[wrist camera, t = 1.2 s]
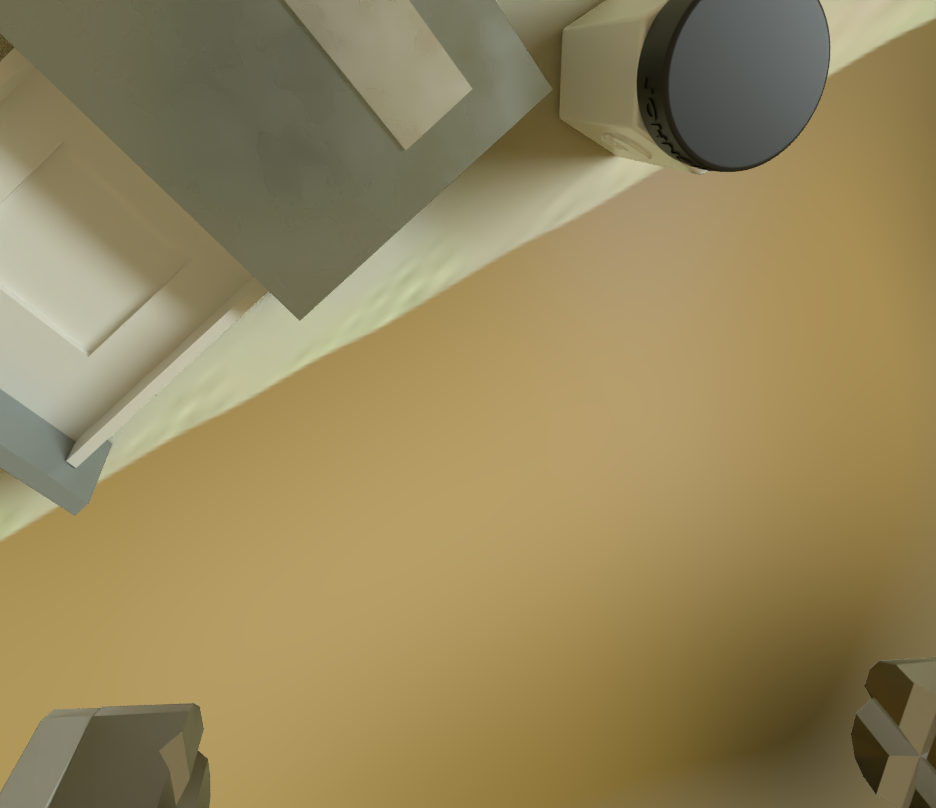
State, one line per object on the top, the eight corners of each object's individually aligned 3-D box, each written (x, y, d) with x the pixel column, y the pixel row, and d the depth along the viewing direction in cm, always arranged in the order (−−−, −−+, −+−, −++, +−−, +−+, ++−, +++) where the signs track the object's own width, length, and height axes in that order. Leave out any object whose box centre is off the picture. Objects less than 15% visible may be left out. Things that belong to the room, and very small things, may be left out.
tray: (-216, 261, 34) (-313, 299, 28) (35, 9, 32) (-13, -6, 27) (85, 467, 42) (58, 531, 36) (298, 272, 40) (304, 305, 35)
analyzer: (23, 14, 33) (-37, -1, 26) (277, -240, 31) (283, -327, 24) (292, 281, 41) (300, 321, 34) (503, 87, 39) (554, 89, 33)
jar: (524, 100, 40) (620, 109, 29) (600, -45, 38) (731, -91, 27) (642, 177, 44) (764, 210, 33) (716, 49, 42) (872, 40, 31)
